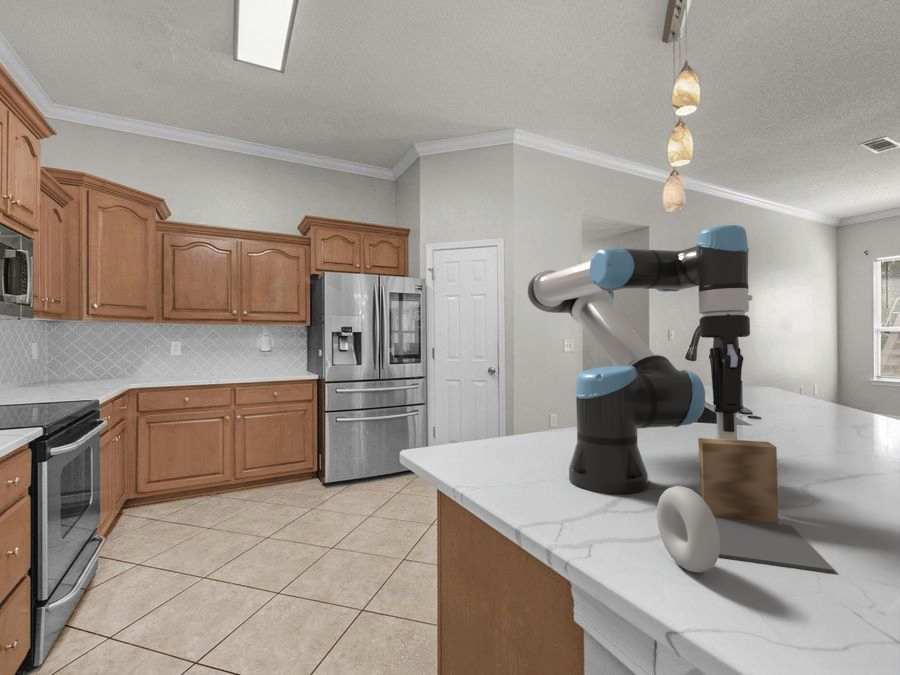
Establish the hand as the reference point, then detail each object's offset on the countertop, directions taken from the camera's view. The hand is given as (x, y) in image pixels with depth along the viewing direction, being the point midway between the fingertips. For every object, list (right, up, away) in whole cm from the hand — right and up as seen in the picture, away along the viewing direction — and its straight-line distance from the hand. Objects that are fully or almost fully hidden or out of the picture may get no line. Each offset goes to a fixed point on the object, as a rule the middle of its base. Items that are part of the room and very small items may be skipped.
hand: (727, 449), depth 77 cm
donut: (-19, -10, -22) cm, 30 cm away
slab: (-2, -9, -6) cm, 11 cm away
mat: (-6, -9, -15) cm, 18 cm away
